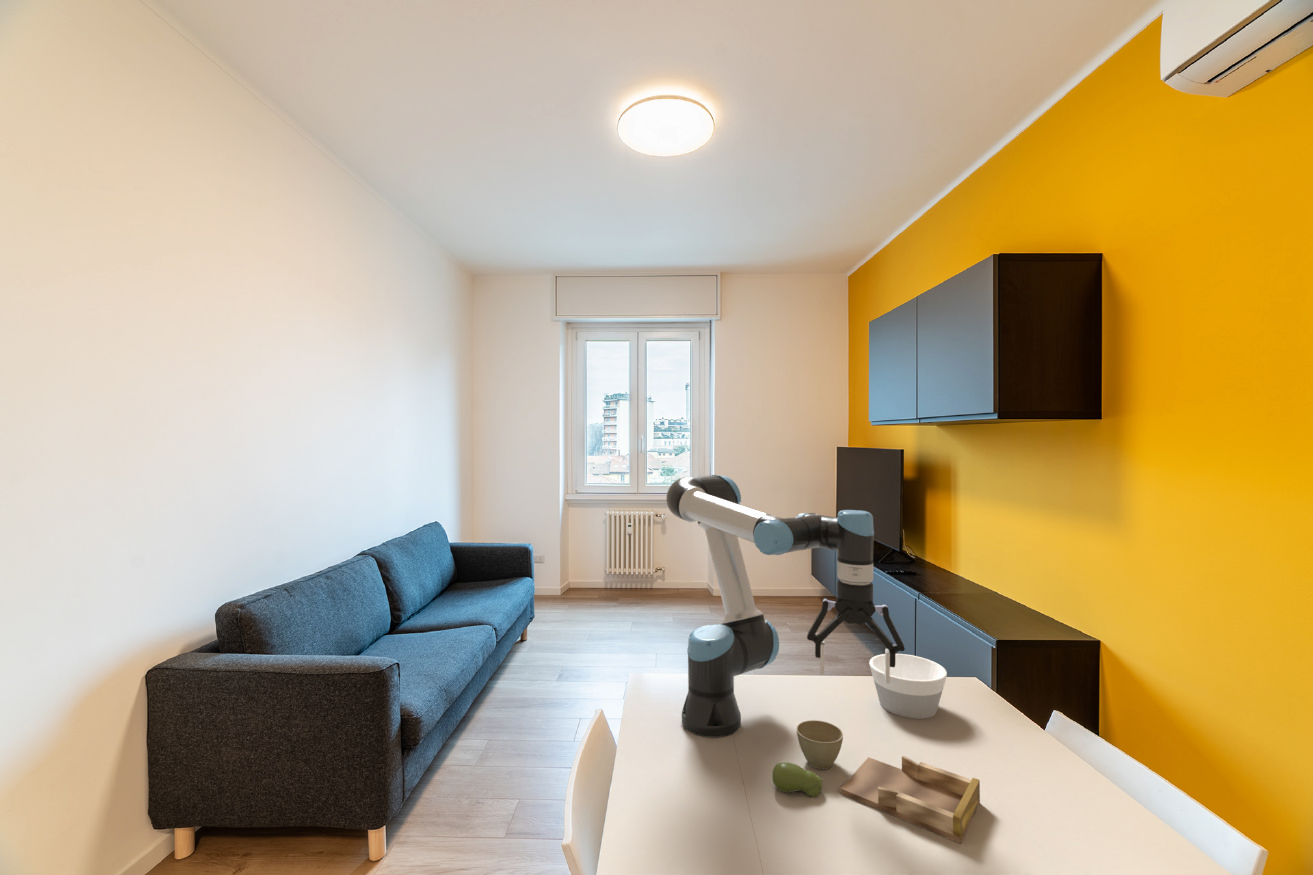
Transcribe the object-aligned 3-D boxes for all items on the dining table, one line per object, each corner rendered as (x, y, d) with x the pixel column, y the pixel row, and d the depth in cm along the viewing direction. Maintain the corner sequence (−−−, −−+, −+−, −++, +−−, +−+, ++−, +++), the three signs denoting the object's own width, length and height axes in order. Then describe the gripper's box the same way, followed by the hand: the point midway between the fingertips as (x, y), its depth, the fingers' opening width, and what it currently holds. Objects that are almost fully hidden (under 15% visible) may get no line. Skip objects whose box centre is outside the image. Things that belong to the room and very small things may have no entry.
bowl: (962, 723, 142) (961, 681, 142) (886, 723, 142) (885, 681, 142) (926, 690, 161) (926, 653, 161) (859, 690, 161) (859, 653, 161)
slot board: (840, 793, 114) (840, 771, 114) (868, 761, 125) (868, 741, 125) (960, 843, 99) (960, 818, 99) (980, 802, 111) (979, 779, 111)
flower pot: (846, 778, 119) (846, 744, 119) (797, 773, 121) (797, 739, 121) (840, 753, 129) (840, 721, 129) (795, 748, 131) (795, 717, 131)
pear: (773, 753, 118) (821, 765, 117) (769, 778, 118) (817, 790, 117) (775, 768, 113) (825, 781, 111) (771, 794, 113) (821, 807, 111)
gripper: (795, 579, 124) (795, 675, 124) (918, 590, 117) (917, 692, 117) (798, 572, 132) (797, 662, 132) (914, 581, 124) (913, 677, 124)
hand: (854, 676), depth 124 cm, fingers open, 13 cm apart
